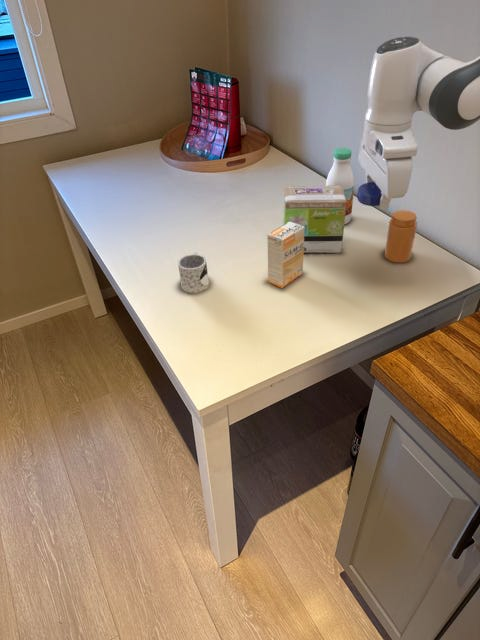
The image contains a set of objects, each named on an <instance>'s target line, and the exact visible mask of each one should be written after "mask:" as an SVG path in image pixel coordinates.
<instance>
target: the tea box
mask: <svg viewBox="0 0 480 640" xmlns="http://www.w3.org/2000/svg"><path fill="white" fill-rule="evenodd" d="M345 213H346V199H345V195H344V191H343V188H342V185H339V186H326V185H299V186H298V185H291V186H290V185H288V186H287V185H286V186H284V187H283V220H282V221H283V223H282V226H283V225H285V224H286V223H288V222H293V223H296V224H299V225H301V226H304V227H305V230H304V253H325V254H327V253H332V254H333V253H335V254H340V253H341V252H342V248H343V240H344V232H345V231H344V230H345V224H344V221H345ZM304 253H303V254H304Z"/></svg>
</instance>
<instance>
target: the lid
mask: <svg viewBox="0 0 480 640" xmlns="http://www.w3.org/2000/svg"><path fill="white" fill-rule="evenodd" d="M381 196H382V194H381V190H380V188H379V187H378V186H377V185H376V183H375V182H369V183H367V182H366V183H363V184H361V185H360V186H358V188H357V199H356V200H357V201H358V202H359V203H360V204H362V205H364V206H369V207H379V206H378V202H379V199H381Z"/></svg>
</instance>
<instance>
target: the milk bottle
mask: <svg viewBox="0 0 480 640" xmlns="http://www.w3.org/2000/svg"><path fill="white" fill-rule="evenodd" d="M351 159H352V150H351V149H349V148H345V147H339V148H336V149H334V150H333V164H332V166H331V168H330V171H329V172H328V174H327V177H326V182H325V186H339V185H342V188H343V191H344V195H345V199H346V213H345V221H344V225H347V224H348V223H350V221H351V220H352V215H353V205H354V192H355V175H354V172H353V170H352V167H351Z"/></svg>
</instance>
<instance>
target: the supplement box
mask: <svg viewBox="0 0 480 640" xmlns="http://www.w3.org/2000/svg"><path fill="white" fill-rule="evenodd" d="M304 230H305V227H304V226H301V225H299V224H296V223H293V222H288V223H286V224H285V225H283V224H282V225H281V226H279V227H278V228H276V229H274V230H272V231H271V232H269V233H267V234H266V235H267V238H266V239H267V242H266V243H267V282H268V283H269V284H272V285H274V286H277V287H278V288H281V289H283V288H285V287H286V286H287V285H289V284H290V283H291V282H293V281H294V280H295V279H297V278H299V277H300V276H302V275H303V273H304Z"/></svg>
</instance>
